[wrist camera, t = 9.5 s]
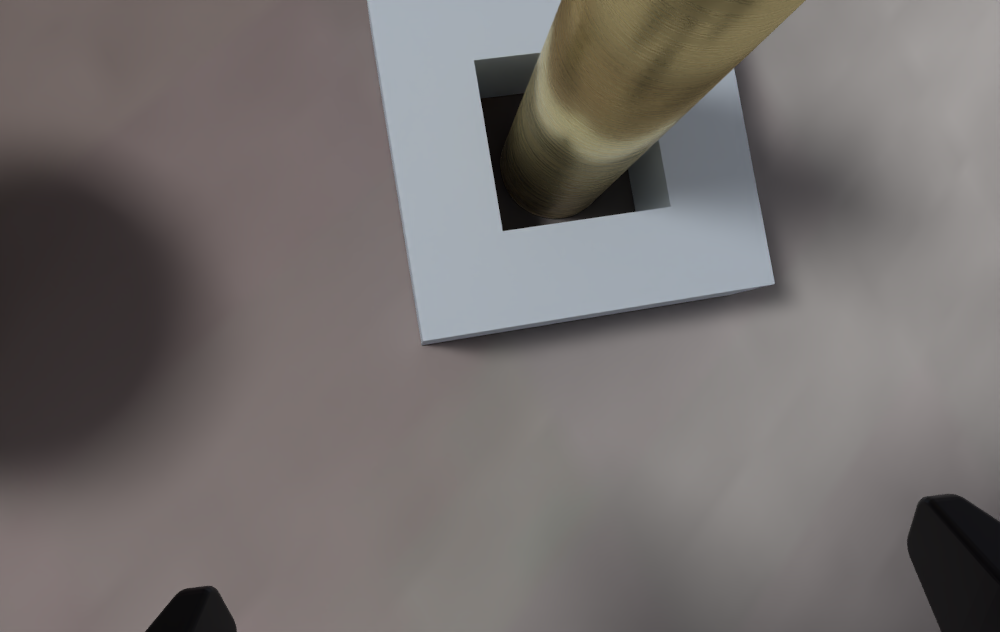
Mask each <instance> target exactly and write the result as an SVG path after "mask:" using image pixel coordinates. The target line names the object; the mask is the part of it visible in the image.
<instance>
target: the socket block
mask: <svg viewBox="0 0 1000 632" xmlns="http://www.w3.org/2000/svg"><path fill="white" fill-rule="evenodd" d="M560 2H561V0H367V4H368V12H369V20H370V28H371V34H372V41H373V47H374V53H375V59H376V65H377V72H378V78H379V84H380V90H381V96H382V103H383V109H384V115H385V121H386V127H387V134H388V140H389V146H390V152H391V158H392V164H393V171H394V177H395V183H396V189H397V195H398V202H399V208H400V214H401V220H402V226H403V233H404V239H405V245H406V251H407V257H408V264H409V270H410V276H411V282H412V288H413V295H414V301H415V307H416V313H417V319H418V326H419V332H420V338H421V344H422V345H426V344H433V343H439V342H445V341H451V340H457V339H463V338H469V337H475V336H482V335H488V334H494V333H500V332H506V331H512V330H518V329H524V328H530V327H537V326H543V325H549V324H555V323H561V322H567V321H573V320H579V319H586V318H592V317H598V316H604V315H610V314H616V313H622V312H628V311H634V310H641V309H647V308H653V307H659V306H665V305H671V304H677V303H683V302H690V301H696V300H702V299H708V298H714V297H720V296H726V295H731V294H736V293H740V292H744V291H748V290H752V289H756V288H760V287H764V286H769V285H773V284H775V282H774V277H773V271H772V266H771V261H770V255H769V250H768V245H767V240H766V234H765V229H764V224H763V218H762V213H761V208H760V203H759V197H758V192H757V187H756V181H755V176H754V171H753V166H752V160H751V155H750V150H749V144H748V139H747V134H746V129H745V123H744V118H743V113H742V107H741V102H740V97H739V92H738V86H737V81H736V76H735V70H734V69H733V70H732V71H730V72H729V73H728V74H727V75H726V76H725V77H724V78H723V79H722V80H721V81H720V82H719V83H718V84H717V85H716V86H715V87H714V88H713V89H711V90H710V91H709V92H708V93H707V94H706V95H705V96H704V97H703V98H702V99H701V100H700V101H699V102H698V103H697V104H696V105H695V106H694V107H693V108H691V109H690V110H689V111H688V112H687V113H686V114H685V115H684V116H683V117H682V118H681V119H680V120H679V121H678V122H677V123H676V124H675V125H674V126H673V127H671V128H670V129H669V130H668V131H667V132H666V133H665V134H664V135H663V136H662V137H661V138H660V139H659V140H658V141H657V142H656V143H655V144H654V145H652V146H651V147H650V148H649V149H648V150H647V151H646V152H645V153H644V154H643V155H642V156H641V157H640V158H639V159H638V160H637V161H636V162H635V163H634V164H632V165H631V166H630V167H629V168H628V172H629V178H630V183H631V189H632V195H633V200H634V206H635V211H636V212H631V213H624V214H617V215H610V216H603V217H597V218H590V219H583V220H576V221H569V222H562V223H555V224H549V225H542V226H535V227H528V228H521V229H514V230H507V231H503V230H502V224H501V218H500V212H499V206H498V200H497V194H496V188H495V182H494V176H493V170H492V165H491V159H490V153H489V147H488V141H487V135H486V129H485V123H484V117H483V111H482V105H481V99H480V98H489V97H497V96H505V95H513V94H521V93H525V91H526V88H527V86H528V83H529V81H530V78H531V75H532V73H533V70H534V68H535V65H536V63H537V60H538V58H539V55H540V53H541V50H542V48H543V45H544V43H545V40H546V38H547V35H548V33H549V30H550V28H551V25H552V22H553V20H554V17H555V15H556V12H557V10H558V7H559V5H560Z"/></svg>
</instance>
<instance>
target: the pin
mask: <svg viewBox="0 0 1000 632" xmlns="http://www.w3.org/2000/svg"><path fill="white" fill-rule="evenodd" d="M804 1H805V0H561V2H560V5H559V7H558V10H557V12H556V15H555V17H554V20H553V22H552V25H551V28H550V30H549V33H548V35H547V38H546V40H545V43H544V45H543V48H542V50H541V53H540V55H539V58H538V60H537V63H536V65H535V68H534V70H533V73H532V75H531V78H530V81H529V83H528V86H527V88H526V91H525V93H524V96H523V98H522V101H521V103H520V106H519V108H518V111H517V113H516V116H515V118H514V121H513V123H512V126H511V128H510V131H509V134H508V136H507V139H506V141H505V144H504V146H503V149H502V153H501V159H500V170H501V176H502V179H503V183H504V185H505V187H506V189H507V191H508V193H509V194H510V196H511V197H512V198H513V199H514V201H515V202H516V203H517V204H518V205H520V206H521V207H522V208H523V209H525V210H527V211H528V212H530V213H532V214H534V215H537V216H540V217H544V218H551V219H559V218H566V217H569V216H573V215H575V214H577V213H579V212H581V211H583V210H584V209H585V208H587V207H588V206H589V205H590V204H591V203H592V202H593V201H595V200H596V199H597V198H598V197H599V196H600V195H601V194H602V193H603V192H604V191H605V190H606V189H607V188H608V187H609V186H610V185H611V184H612V183H613V182H615V181H616V180H617V179H618V178H619V177H620V176H621V175H622V174H623V173H624V172H625V171H626V170H627V169H628V168H629V167H630V166H631V165H632V164H634V163H635V162H636V161H637V160H638V159H639V158H640V157H641V156H642V155H643V154H644V153H645V152H646V151H647V150H648V149H649V148H650V147H651V146H652V145H654V144H655V143H656V142H657V141H658V140H659V139H660V138H661V137H662V136H663V135H664V134H665V133H666V132H667V131H668V130H669V129H670V128H671V127H673V126H674V125H675V124H676V123H677V122H678V121H679V120H680V119H681V118H682V117H683V116H684V115H685V114H686V113H687V112H688V111H689V110H690V109H691V108H693V107H694V106H695V105H696V104H697V103H698V102H699V101H700V100H701V99H702V98H703V97H704V96H705V95H706V94H707V93H708V92H709V91H710V90H711V89H713V88H714V87H715V86H716V85H717V84H718V83H719V82H720V81H721V80H722V79H723V78H724V77H725V76H726V75H727V74H728V73H729V72H730V71H732V70H733V69H734V68H735V67H736V66H737V65H738V64H739V63H740V62H741V61H742V60H743V59H744V58H745V57H746V56H747V55H748V54H749V53H750V52H752V51H753V50H754V49H755V48H756V47H757V46H758V45H759V44H760V43H761V42H762V41H763V40H764V39H765V38H766V37H767V36H768V35H769V34H771V33H772V32H773V31H774V30H775V29H776V28H777V27H778V26H779V25H780V24H781V23H782V22H783V21H784V20H785V19H786V18H787V17H788V16H789V15H791V14H792V13H793V12H794V11H795V10H796V9H797V8H798V7H799V6H800V5H801V4H802V3H803V2H804Z"/></svg>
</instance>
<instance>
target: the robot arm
mask: <svg viewBox="0 0 1000 632" xmlns="http://www.w3.org/2000/svg"><path fill="white" fill-rule="evenodd" d="M907 546H908V552H909V556H910V558H911V561H912V563H913V565H914V568H915V570H916V573H917V575H918V577H919V580H920V582H921V585H922V587H923V589H924V592H925V594H926V596H927V599H928V601H929V604H930V606H931V608H932V611H933V613H934V615H935V618H936V620H937V623H938V625H939V627H940V630H941V632H1000V522H999V521H998V520H996V519H995V518H993V517H992V516H990V515H989V514H987V513H986V512H984V511H983V510H981V509H980V508H978V507H977V506H975V505H974V504H972V503H970V502H969V501H967V500H966V499H964V498H963V497H961V496H958V495H955V494H943V495H935V496H927V497H923V498H922V499H921V500H920V501H919V502H918V505H917V508H916V511H915V514H914V518H913V521H912V524H911V528H910V531H909V534H908V539H907ZM145 632H237V629H236V624H235V621H234V619H233V617H232V615H231V614H230V612H229V610H228V608H227V606H226V605H225V603H224V601H223V599H222V597H221V595H220V594H219V592H218V590H217V589H216V588H214V587H212V586H203V587H195V588H187V589H184V590H182V591H180V592H179V593H178V594H176V595H175V597H174V598H173V599H172V600H171V601H170V602H169V604H168V605H167V606H166V607H165V608H164V610H163V611H162V612H161V613H160V614H159V616H158V617H157V618H156V619H155V620H154V622H153V623H152V624H151V625H150V627H149V628H148V629H147V630H146V631H145Z"/></svg>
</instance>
